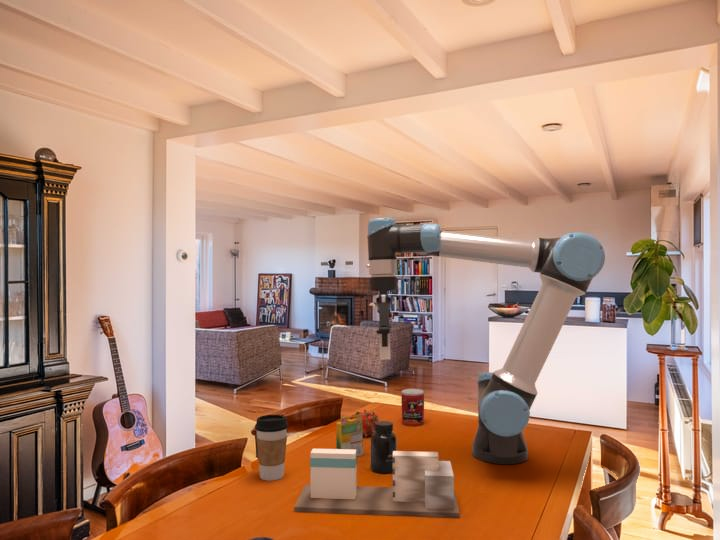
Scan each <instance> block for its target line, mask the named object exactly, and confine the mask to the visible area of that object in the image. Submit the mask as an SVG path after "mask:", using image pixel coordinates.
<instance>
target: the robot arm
mask: <svg viewBox="0 0 720 540" xmlns="http://www.w3.org/2000/svg"><path fill="white" fill-rule="evenodd" d="M366 237H367V252H368V254H367V255H368V256H367V257H368V263H367V264H366V268H368V274H369V276H371V277H369V279H368V287H369V291H370V292H379V293H378V297H376V298H375V304H376V306H377V307H376V310H377V313H378V318H379V319H378V321H379V322H378V323H379V328H378V329H377V330H376V335H378V336H379V337H378V339H379V343H378V344H379V360H383V361H384V360H391V355H392V354H391V332H390V331H391V329H392V324H391V323H390V314H389V313H391V305H392V297H390V296H389V294H388V291H389V292H390V291H391V292H392V291H397V290H398V278H397V276H396V275H397V274H398V268H397V267H398V265H397V264H398V263H397V262H398V261H397V254H416V255H418V256H430V257H431V256H432V257H441V258H449V259H457V260H464V261H472V262H473V261H474V262H479V263H487V264H488V263H489V264H496V265H497V264H498V265H503V266H505V265H506V266H510V267H511V266H514V267H520V268H528V269H529V270H530V271H531V272H532V273H539V278H540V280H541V286H540V287H539V289H538V290H539V291H538V292H537V294H536V296H535V298H534V300H533V302H532V305H531V307H530V309H529V312H528V313H527V316H526V317H525V320H524V321H523V324H522V326H521V328H520V330H519V332H518V334H517V336H516V339H515V340H514V343H513V346H512V348H511V350H509V351H510V352H509V354H508V356H507V358H506V360H505V363H504V364H503V366H502V368H500V369H498V370H497V369H496V370H494V371H492V372H488V371H487V372H480V373H479V374H478V376H477V382H476V384H477V405H478V406H477V408H478V409H477V410H478V411H477V412H478V413H477V417H478V418H477V419H478V425H477V428H476V431H475V435H474V438H473V442H472V447H471V449H472V450H471V451H472V452H471V453H472V455H473V456H474V457H475V458H477V459H478V460H480V461H484V462H487V463H491V464H498V465H513V464H515V465H516V464H521V463H524V462H526V461H527V460H528V459H529V449H528V446H527V443H526V439H525V436H524V434H523V432H524V430H525V429H526V427H527V426H528V425H529V421H530V416H531V415H530V414H531V411H530V410H531V408H532V407H533V403H534V401H535V400H536V397H537V395H538V390H537V387H536V382H537V380H538V378H539V376H540V375H541V374H540V373H541V372H542V370H543V367H544V366H545V363H546V361H547V360H548V359H547V358H548V357H549V354H550V353H551V351H552V349H553V347H554V345H555V342H556V340H557V338H558V336H559V335H560V332H561V330H562V327H563V326H564V324H565V322H566V320H567V317H568V315H569V313H570V311H571V310H572V306H573V305H574V302H575V300H576V299H577V298H579V297H582V296H583V295H586V292H588V289H589V287H590V285H591V283H592V280H593V278H595V277H596V276H597V275H598V274H600V272H601V270H602V269H603V268H604V265H605V259H606V254H605V252H606V251H605V249H604V247H603V245H602V244H601V242H600V241H599V240H598V239H597V238H596V237H594V236H593V235H591V234H589V233H585V232H581V231H580V232H578V231H577V232H576V231H575V232H569V233H566V234H564V235H563V236H560V237H554V238H550V237H549V238H546V237H545V238H543V237H537V238H535V239H533V240H529V239H519V238H510V237H502V236H492V235H482V234H475V233H466V232H465V233H464V232H456V231H446V230H441V226H440V225H439V224H438V223H427V222H426V223H419V224H417V223H416V224H404V225H403V224H396V221H395V219H394V218H392V217H376V218H371V219H370V220H369V221H368V223H367V236H366Z"/></svg>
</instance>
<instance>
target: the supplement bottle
mask: <svg viewBox="0 0 720 540" xmlns="http://www.w3.org/2000/svg"><path fill="white" fill-rule="evenodd" d="M374 430H375V431H373V432H372V433H371V434H370V469H371V470H372V472H374V473H378V474H390V473H393V451H398V450H397V449H398V444H397V443H398V438H397V435H396V434H395V433H394V432H393V431H394V423H393V422H392V421H387V420H378V422H375V428H374Z"/></svg>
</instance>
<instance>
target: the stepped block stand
mask: <svg viewBox="0 0 720 540" xmlns="http://www.w3.org/2000/svg"><path fill="white" fill-rule="evenodd" d="M454 479H455V476H454V471H453V467H452V463H451V460H439V452H438V451H413V450H412V451H410V450H397V451H393V472H392V486H390V487H389V486H367V485H366V486H364V485H363V486H359V485H357V495H356V499H355V500H354V499H325V498H311V484H304V486H303V489H302V490H301V493H300V495H299V496H298V499H297V500H296V503H295V505H294V506H293V512H295V511H296V512H295V513H317V514H319V513H320V514H347V515H371V516H372V515H373V516H401V517H402V516H404V517H424V518H425V517H427V518H428V517H430V518H451V519H452V518H453V519H454V518H455V519H457V518H458V519H459V518H460V517H461V516H460V508H459V505H458V500H457V496H456V492H455V482H454V481H455V480H454Z"/></svg>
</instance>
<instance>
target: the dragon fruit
mask: <svg viewBox="0 0 720 540" xmlns="http://www.w3.org/2000/svg"><path fill="white" fill-rule="evenodd" d="M359 414H362V429H363V436H364V437H365V438H367V437H368V436H371V435H372V433H373V432H375V430H374V428H375V422H378V421H379V416H378V415H377V414H376V413H375V412H374V411H369V412H368V411H367V410H366V409H363V411H356V412H355V414H352V415H351V416H354V415H359ZM353 419H357V418H350V419H349V420H353Z"/></svg>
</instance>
